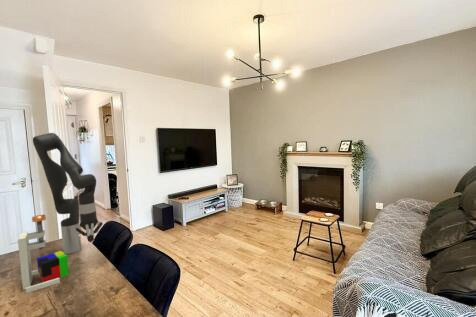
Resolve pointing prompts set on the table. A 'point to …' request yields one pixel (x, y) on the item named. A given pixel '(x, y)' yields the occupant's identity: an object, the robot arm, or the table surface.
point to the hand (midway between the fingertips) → (90, 241)
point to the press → (26, 261)
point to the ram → (39, 226)
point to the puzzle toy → (52, 266)
